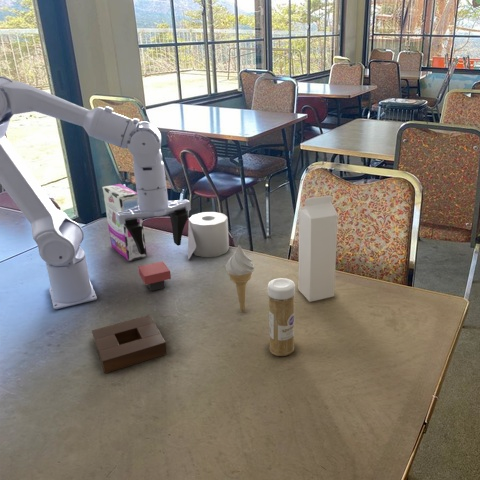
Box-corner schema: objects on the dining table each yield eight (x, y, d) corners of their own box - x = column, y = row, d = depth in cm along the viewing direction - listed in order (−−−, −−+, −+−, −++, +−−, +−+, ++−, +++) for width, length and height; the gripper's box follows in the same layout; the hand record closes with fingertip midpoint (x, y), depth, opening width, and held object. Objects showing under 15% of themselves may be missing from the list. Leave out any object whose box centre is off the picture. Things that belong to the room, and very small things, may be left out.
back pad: (140, 284, 106) (138, 266, 104) (165, 278, 109) (162, 261, 107) (146, 294, 102) (144, 276, 100) (172, 288, 105) (170, 270, 103)
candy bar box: (148, 256, 119) (140, 193, 112) (128, 262, 116) (119, 197, 109) (129, 242, 126) (121, 182, 120) (110, 247, 123) (100, 186, 117)
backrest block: (93, 341, 86) (91, 330, 85) (151, 325, 92) (150, 314, 91) (104, 373, 79) (102, 361, 78) (167, 354, 84) (165, 342, 83)
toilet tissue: (182, 262, 116) (178, 230, 113) (198, 241, 128) (196, 210, 125) (218, 265, 116) (216, 232, 112) (232, 242, 128) (230, 212, 124)
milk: (298, 289, 106) (298, 194, 97) (322, 284, 108) (324, 190, 100) (309, 302, 101) (311, 203, 92) (335, 296, 103) (338, 199, 95)
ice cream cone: (250, 321, 94) (248, 251, 88) (223, 317, 95) (219, 248, 89) (259, 306, 99) (257, 239, 93) (234, 303, 100) (230, 237, 94)
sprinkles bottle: (290, 359, 83) (290, 291, 78) (265, 354, 84) (264, 287, 79) (297, 343, 87) (298, 278, 82) (273, 340, 88) (272, 275, 83)
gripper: (119, 198, 88) (130, 264, 94) (194, 184, 96) (200, 246, 102) (109, 188, 94) (120, 251, 99) (180, 176, 102) (187, 235, 107)
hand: (159, 248), depth 101 cm, fingers open, 7 cm apart
